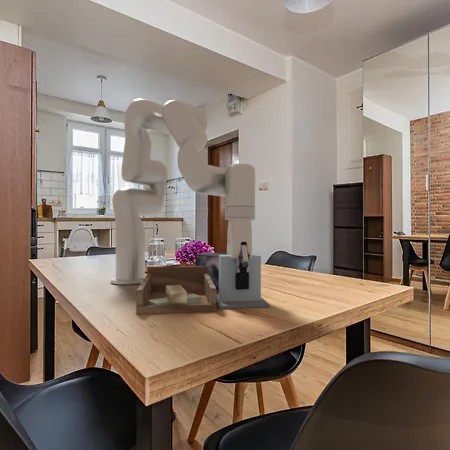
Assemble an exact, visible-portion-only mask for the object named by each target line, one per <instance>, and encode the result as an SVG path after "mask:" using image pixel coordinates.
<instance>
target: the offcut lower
mask: <svg viewBox="0 0 450 450" xmlns="http://www.w3.org/2000/svg"><path fill="white" fill-rule="evenodd" d="M179 304H202V296H201V295H199V294H195V293H187V303H172V304H171V303H170V301H169V299H168V297H167V296H166V297H162V298H161V297H159V298H155V299H148V301H147V305H179Z"/></svg>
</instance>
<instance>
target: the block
mask: <svg viewBox="0 0 450 450" xmlns="http://www.w3.org/2000/svg"><path fill="white" fill-rule="evenodd" d="M248 257H250V256H248ZM238 259H239V260H241V259H242V257H240V258H238ZM248 259H249V258H248ZM248 265H249V289H245V290H237V289H236V288H235V285H236V273H237V265H236V258H235V260H234V261H232V260H231V259H230V256H229V255H219V290H218V295H219V300H220V302H227V301H261V297H262V296H261V293H262V279H261V278H262V256H261V255H260V254H252V258H251V259H250V260H248ZM239 267H240V263H239Z"/></svg>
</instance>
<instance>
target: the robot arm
mask: <svg viewBox="0 0 450 450" xmlns="http://www.w3.org/2000/svg"><path fill="white" fill-rule="evenodd" d="M123 121H124V122H123V123H124V137H125V138H124V147H123V155H122V163H121V178H122V180H123V181H124V182H126V183H128V184H131V185H138V186H145V189H144V188H139V187H138V188H137V187H121V188H119V189H118V190H116V191H115V192H114V193H113V195H112V208H113V209H112V210H113V214H114V222H115V277H112V278H110V283H111V284H114V285H125V286H126V285H138V284H141V283H142V281H143V280H144V279H145V277H146V276H147V275H146V228H145V224H144V222H143V221H142V219H141V217H149V218H150V217H156V216H158V215H159V214H160V213H161V212H162V210H163V208H164V207H163V206H164V202H165V195H166V187H167V182H168V170H167V167H166V165H165V163H164V162H163V161H161V160H159V159H156V158H153V157H152V158H151V151H152V141H151V138H150V135H149V132H148V131H147V130H150V131H152V132H153V131H154V132H157V133H160V134H163V135H167V136H171V137H172V138H173V140H174V142H175V143H176V146H177V147H178V148H179V149H178V152H177V167H178V171H179V172H180V175H181V176H182V178H183V180H184V181H185V183H186V185H187V186H188V187H189V188H190V190H192V191H193V192H194V193H196V194H200V195H207V196H208V195H209V196H216V197H224V210H225V211H224V220H225V221H228V223H227V224H228V225H227V241H226V244H227V245H226V254H227V255H229V256H230V259H231V260H232V261H234V260H235V258H236V265H237V273H236V285H235V288H236V289H237V290H245V289H249V265H248V260H250V259H251V258H252V255H253V231H252V230H253V228H252V221H255V220H256V169H255V167H254V166H253V165H252V164H249V163H232V164H229V165H228V166H226V167H225V168H223V167H219V166H216V165H215V166H214V165H211V164H210V165H209V164H207V163H205V162H204V160H203V158H202V157H201V155H200V154H199V153H200V152H201V151H202V150H203V149H204V148H205V147H206V145H207V143H208V135H207V133H206V132H205V131H206V128H207V124H208V119H207V116H206V113H205V112H204V111H203V110H202V109H201V108H200V107H197V106H195V105H193V104H190V103H188V102H186V101H183V100H180V99H179V100H178V99H172V100H168V101H166V102H165V103H164V104H160V103H158V102H155V101H153V100H149V99H146V98H145V99H144V98H137V99H134V100H132V101H131V102H130V103H129V105H128V106H127V108H126V111H125V114H124V120H123ZM248 256H250V257H248ZM240 257H242V259H241V260H239V259H238V258H240ZM248 258H249V259H248ZM239 263H240V267H239Z"/></svg>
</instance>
